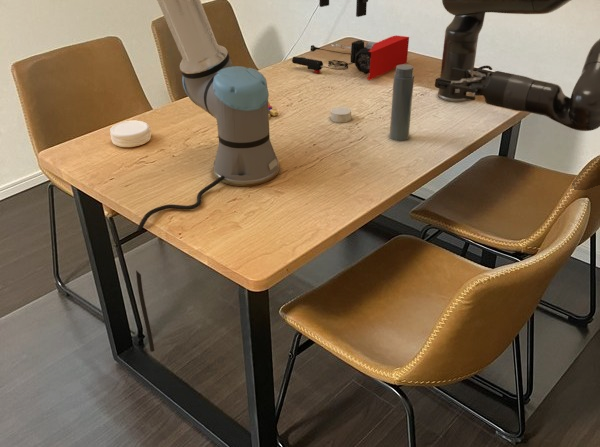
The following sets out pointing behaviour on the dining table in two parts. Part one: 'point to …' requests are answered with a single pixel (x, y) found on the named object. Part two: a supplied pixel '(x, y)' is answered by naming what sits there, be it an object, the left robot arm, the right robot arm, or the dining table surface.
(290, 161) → the dining table surface
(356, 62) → the electric hoist
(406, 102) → the grey cylinder
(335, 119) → the lid
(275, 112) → the toy figure
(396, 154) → the dining table surface
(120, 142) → the white round container
